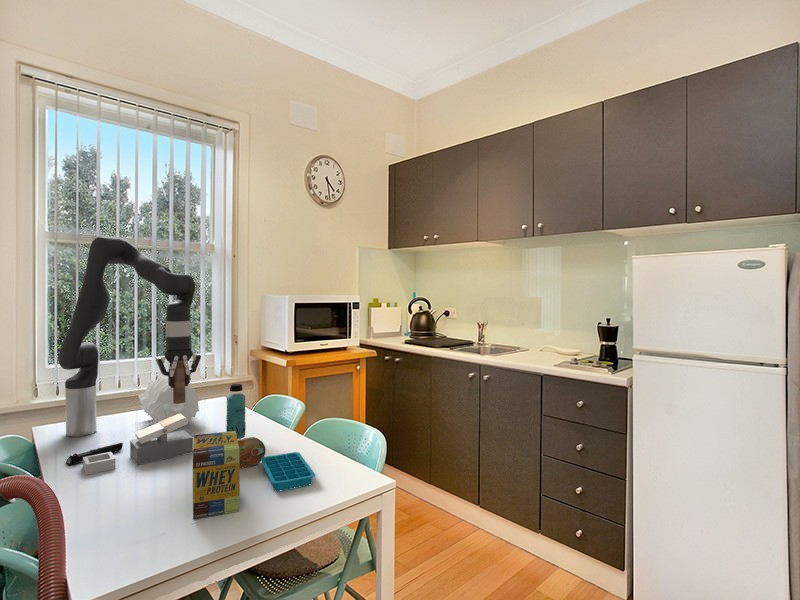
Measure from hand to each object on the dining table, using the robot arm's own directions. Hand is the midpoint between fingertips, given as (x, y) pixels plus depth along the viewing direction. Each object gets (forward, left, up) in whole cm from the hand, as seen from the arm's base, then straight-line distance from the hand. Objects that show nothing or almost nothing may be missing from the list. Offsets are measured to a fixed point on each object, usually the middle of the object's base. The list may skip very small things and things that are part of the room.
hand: (179, 386), depth 148 cm
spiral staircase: (-35, +6, -21) cm, 42 cm away
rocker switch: (0, -5, -13) cm, 14 cm away
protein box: (+44, -3, -22) cm, 49 cm away
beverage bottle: (+3, +18, -21) cm, 28 cm away
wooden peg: (0, 0, -5) cm, 5 cm away
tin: (+26, +10, -22) cm, 35 cm away
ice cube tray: (+41, +18, -22) cm, 50 cm away
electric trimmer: (-11, -22, -22) cm, 33 cm away
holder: (0, -22, -21) cm, 31 cm away
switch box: (0, -5, -21) cm, 22 cm away
